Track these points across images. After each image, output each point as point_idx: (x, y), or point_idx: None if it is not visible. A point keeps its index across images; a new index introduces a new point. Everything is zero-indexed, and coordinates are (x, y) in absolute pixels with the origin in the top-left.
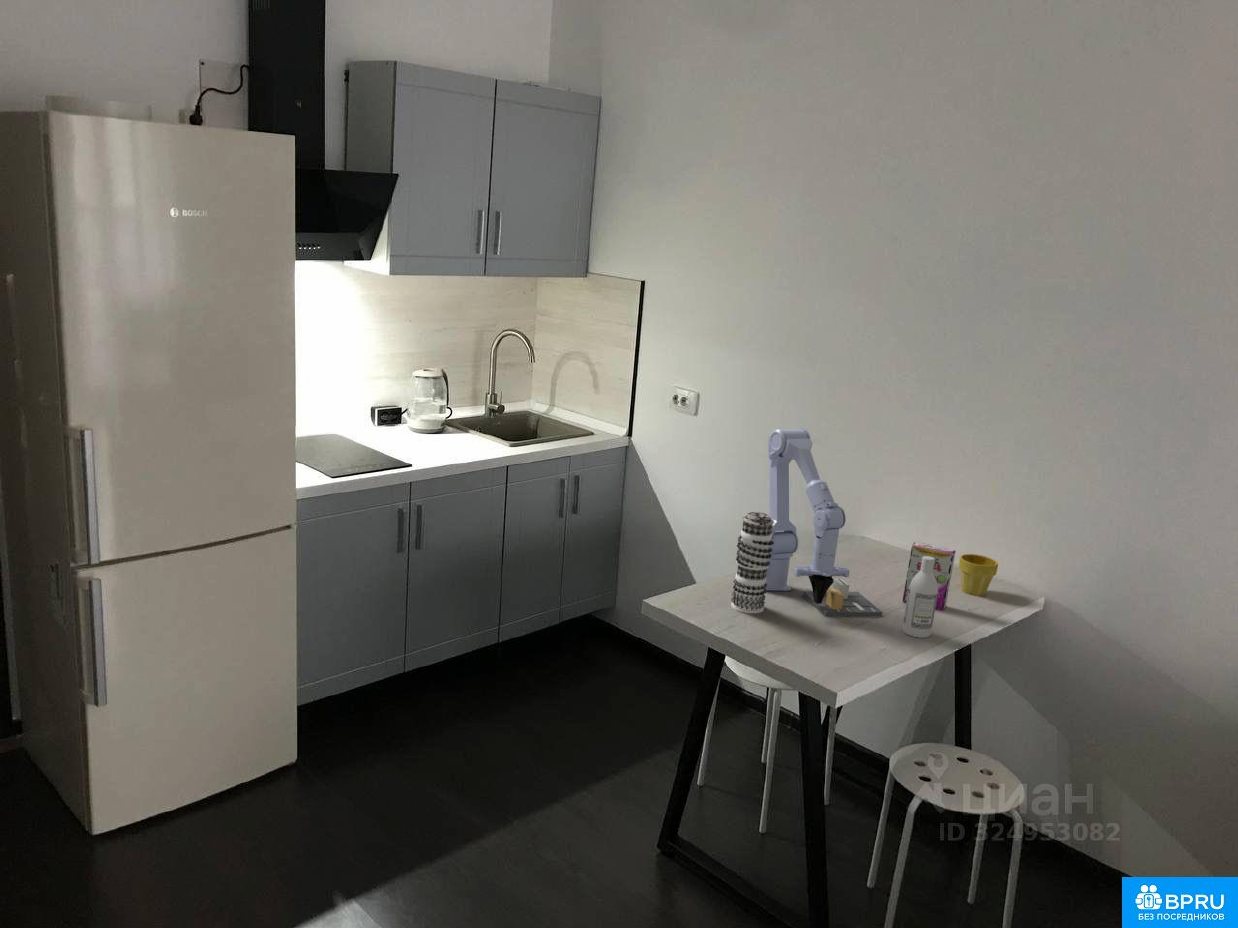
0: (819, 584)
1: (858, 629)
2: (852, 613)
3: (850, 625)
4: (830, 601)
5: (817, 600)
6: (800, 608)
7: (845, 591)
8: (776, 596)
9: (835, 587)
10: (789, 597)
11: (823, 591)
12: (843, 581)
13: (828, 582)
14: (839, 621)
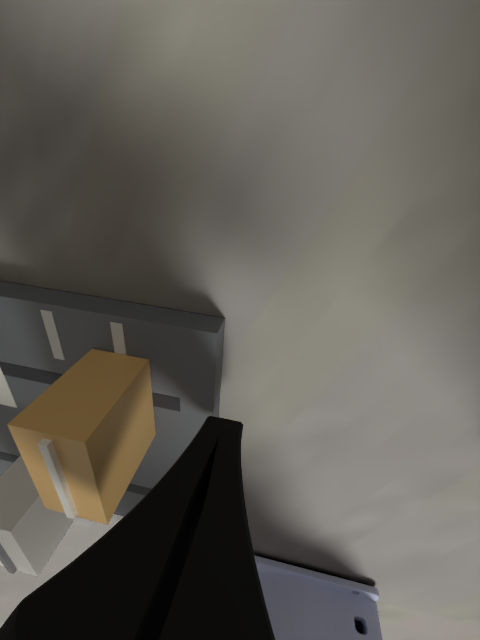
0: (223, 624)
1: (55, 16)
2: (40, 297)
3: (102, 130)
4: (136, 419)
5: (238, 438)
6: (312, 432)
7: (14, 481)
8: (339, 540)
9: (56, 520)
10: (284, 520)
11: (179, 501)
12: None
13: (81, 636)
14: (161, 223)
